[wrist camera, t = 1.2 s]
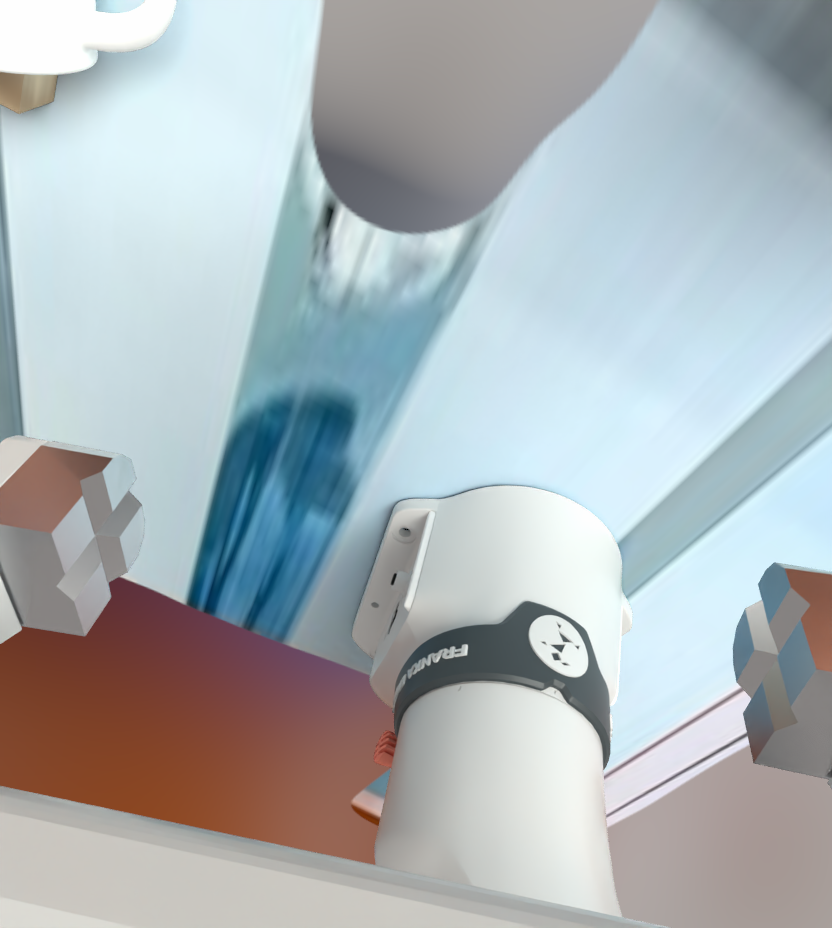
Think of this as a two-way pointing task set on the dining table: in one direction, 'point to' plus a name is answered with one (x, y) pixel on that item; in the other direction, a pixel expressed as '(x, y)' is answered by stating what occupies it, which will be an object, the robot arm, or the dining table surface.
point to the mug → (73, 33)
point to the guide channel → (26, 91)
